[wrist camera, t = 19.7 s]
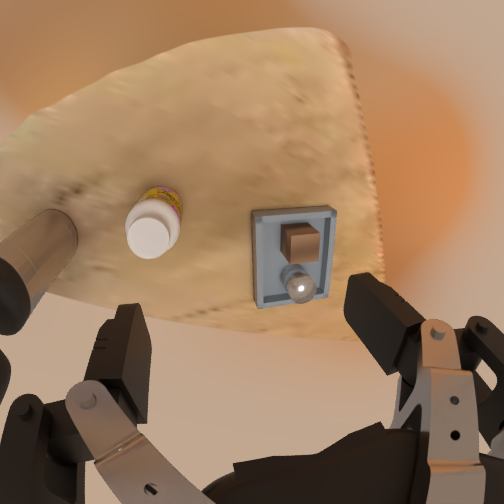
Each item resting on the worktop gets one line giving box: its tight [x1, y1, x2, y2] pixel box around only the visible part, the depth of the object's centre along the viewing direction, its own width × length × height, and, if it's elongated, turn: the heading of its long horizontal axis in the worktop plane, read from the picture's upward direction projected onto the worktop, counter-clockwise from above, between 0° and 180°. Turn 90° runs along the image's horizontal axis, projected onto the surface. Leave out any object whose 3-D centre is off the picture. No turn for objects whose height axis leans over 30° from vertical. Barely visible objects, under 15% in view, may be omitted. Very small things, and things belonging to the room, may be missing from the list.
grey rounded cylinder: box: [280, 264, 317, 304], centre depth 45 cm, size 4×4×6 cm
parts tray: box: [251, 206, 337, 309], centre depth 46 cm, size 13×16×3 cm
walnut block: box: [280, 222, 321, 265], centre depth 42 cm, size 4×4×5 cm
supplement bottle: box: [125, 187, 182, 259], centre depth 33 cm, size 7×7×13 cm
